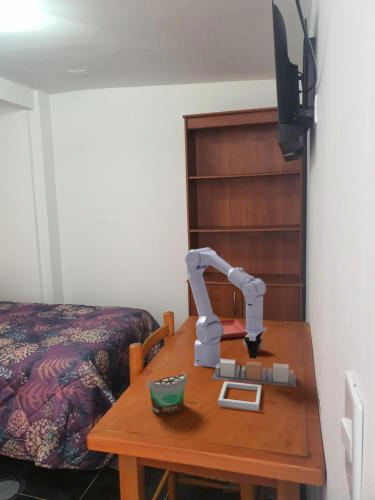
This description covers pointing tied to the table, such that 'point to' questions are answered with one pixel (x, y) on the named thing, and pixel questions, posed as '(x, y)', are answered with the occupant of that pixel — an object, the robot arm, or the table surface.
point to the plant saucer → (232, 329)
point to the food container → (167, 395)
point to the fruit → (259, 345)
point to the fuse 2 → (280, 372)
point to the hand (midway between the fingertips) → (254, 353)
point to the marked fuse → (253, 370)
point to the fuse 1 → (227, 367)
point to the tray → (236, 403)
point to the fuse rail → (265, 379)
